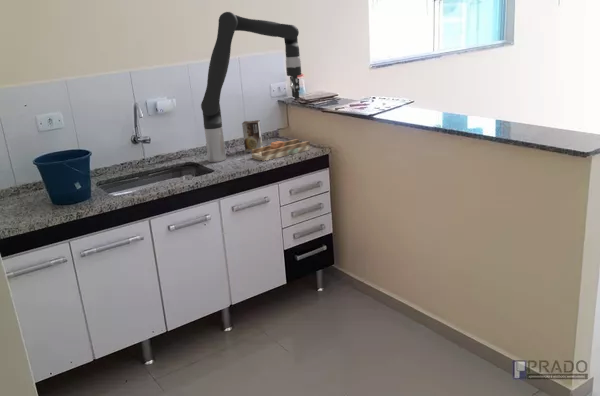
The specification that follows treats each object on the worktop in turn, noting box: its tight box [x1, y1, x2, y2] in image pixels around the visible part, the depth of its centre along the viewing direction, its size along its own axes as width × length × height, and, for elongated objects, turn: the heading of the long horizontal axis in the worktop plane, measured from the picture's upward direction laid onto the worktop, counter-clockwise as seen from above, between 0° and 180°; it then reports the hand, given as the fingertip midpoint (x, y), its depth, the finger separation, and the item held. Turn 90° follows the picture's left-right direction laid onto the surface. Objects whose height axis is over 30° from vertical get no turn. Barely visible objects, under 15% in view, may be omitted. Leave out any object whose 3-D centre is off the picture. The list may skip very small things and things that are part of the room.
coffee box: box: [241, 119, 264, 153], centre depth 302 cm, size 9×6×16 cm
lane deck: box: [251, 138, 311, 162], centre depth 291 cm, size 30×11×4 cm, turn 127°
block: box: [270, 140, 285, 149], centre depth 289 cm, size 5×5×4 cm
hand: (295, 97), depth 285 cm, fingers open, 8 cm apart
